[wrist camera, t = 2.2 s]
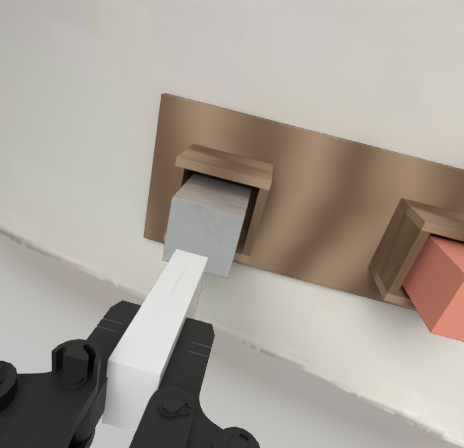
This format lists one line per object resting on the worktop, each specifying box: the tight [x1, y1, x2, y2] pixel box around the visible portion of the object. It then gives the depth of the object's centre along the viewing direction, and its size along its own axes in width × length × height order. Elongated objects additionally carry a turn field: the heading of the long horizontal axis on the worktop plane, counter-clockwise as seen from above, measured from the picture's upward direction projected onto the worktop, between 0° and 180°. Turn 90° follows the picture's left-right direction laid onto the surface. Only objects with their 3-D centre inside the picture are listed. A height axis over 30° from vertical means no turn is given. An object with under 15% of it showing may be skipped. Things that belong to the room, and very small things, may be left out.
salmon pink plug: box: [402, 235, 464, 342], centre depth 20 cm, size 4×4×5 cm
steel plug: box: [162, 173, 252, 278], centre depth 21 cm, size 4×4×5 cm
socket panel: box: [144, 93, 464, 311], centre depth 24 cm, size 28×12×6 cm, turn 77°
